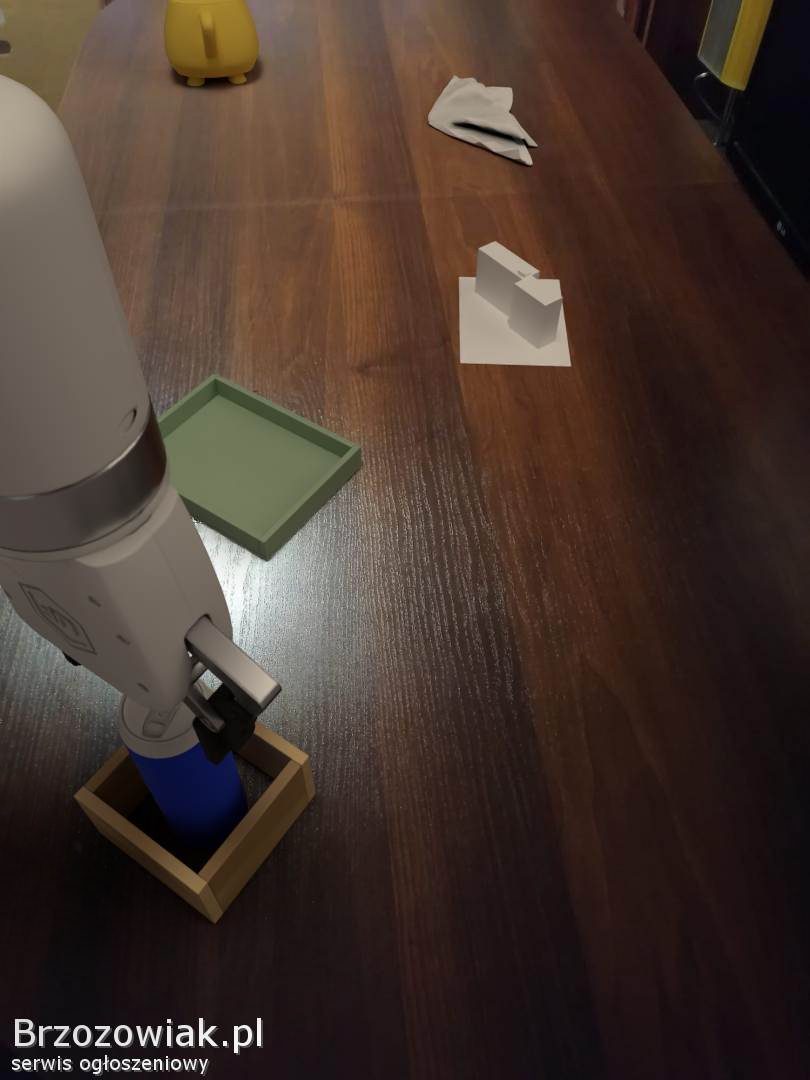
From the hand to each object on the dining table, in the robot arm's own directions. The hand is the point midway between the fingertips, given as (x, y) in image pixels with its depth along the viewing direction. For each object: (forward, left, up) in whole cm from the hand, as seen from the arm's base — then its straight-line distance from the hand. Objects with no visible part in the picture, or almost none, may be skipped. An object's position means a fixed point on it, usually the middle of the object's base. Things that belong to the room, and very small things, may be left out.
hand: (161, 690), depth 44 cm
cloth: (-36, +94, -17) cm, 102 cm away
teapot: (-76, +85, -17) cm, 115 cm away
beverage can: (0, 0, -17) cm, 17 cm away
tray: (-19, +25, -17) cm, 36 cm away
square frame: (0, 0, -17) cm, 17 cm away
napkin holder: (-10, +58, -17) cm, 61 cm away
